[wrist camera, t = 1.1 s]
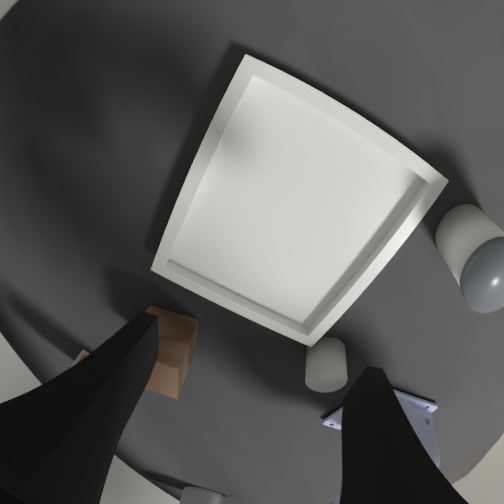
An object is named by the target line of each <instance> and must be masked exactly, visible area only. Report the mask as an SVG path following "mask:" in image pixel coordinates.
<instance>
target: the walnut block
mask: <svg viewBox="0 0 504 504" xmlns="http://www.w3.org/2000/svg"><path fill="white" fill-rule="evenodd" d="M146 312H147V313H150V314H153V315H156V316H159V355H158V358H157V360H156V363H155V366H154V369H153V371H152V374H151V376H150V379H149V381H148V383H147V385H146V387H145V389H148V390H150V391H153V392H156V393H159V394H162V395H165V396H168V397H172V398H175V399H178V396H179V393H180V391H181V388H182V385H183V383H184V380H185V377H186V375H187V372H188V369H189V367H190V364H191V361H192V359H193V356H194V353H195V347H196V339H197V331H198V323H199V319H196V318H192V317H189V316H185V315H182V314H179V313H175V312H172V311H169V310H165V309H162V308H159V307H156V306H152V305H149V307H148V309H147V310H146Z"/></svg>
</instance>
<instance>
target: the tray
mask: <svg viewBox="0 0 504 504" xmlns="http://www.w3.org/2000/svg"><path fill="white" fill-rule="evenodd" d="M448 182H449V181H448V180H447V179H446V178H445V177H444V176H442V175H441V174H440V173H439V172H437V171H436V170H435V169H434V168H433V167H431V166H430V165H429V164H428V163H426V162H425V161H424V160H422V159H421V158H420V157H419V156H417V155H416V154H415V153H413V152H412V151H411V150H409V149H408V148H407V147H405V146H404V145H403V144H401V143H400V142H398V141H397V140H396V139H394V138H393V137H391V136H390V135H389V134H387V133H386V132H384V131H383V130H381V129H380V128H378V127H377V126H376V125H374V124H373V123H371V122H369V121H368V120H366V119H365V118H363V117H362V116H360V115H359V114H357V113H356V112H354V111H352V110H351V109H349V108H348V107H346V106H344V105H343V104H341V103H339V102H338V101H336V100H334V99H333V98H331V97H329V96H327V95H326V94H324V93H322V92H320V91H319V90H317V89H315V88H313V87H311V86H310V85H308V84H306V83H304V82H302V81H300V80H298V79H296V78H295V77H293V76H291V75H289V74H287V73H285V72H283V71H281V70H279V69H277V68H275V67H273V66H270V65H268V64H266V63H264V62H262V61H260V60H258V59H255V58H253V57H251V56H249V55H246V54H245V56H244V58H243V60H242V62H241V64H240V65H239V67H238V69H237V71H236V73H235V75H234V77H233V79H232V81H231V83H230V85H229V87H228V89H227V91H226V93H225V95H224V97H223V99H222V101H221V103H220V105H219V107H218V109H217V111H216V113H215V115H214V117H213V119H212V121H211V124H210V126H209V128H208V130H207V132H206V134H205V137H204V139H203V141H202V143H201V145H200V148H199V150H198V152H197V154H196V157H195V159H194V161H193V163H192V166H191V168H190V170H189V173H188V175H187V177H186V180H185V182H184V184H183V187H182V189H181V192H180V194H179V197H178V199H177V201H176V204H175V206H174V209H173V211H172V214H171V216H170V219H169V222H168V224H167V227H166V229H165V232H164V235H163V237H162V240H161V243H160V245H159V248H158V251H157V254H156V256H155V259H154V262H153V265H152V267H151V270H152V271H154V272H156V273H157V274H159V275H161V276H163V277H165V278H167V279H169V280H171V281H173V282H175V283H177V284H179V285H180V286H182V287H184V288H186V289H188V290H190V291H192V292H194V293H196V294H198V295H200V296H202V297H204V298H206V299H208V300H210V301H212V302H214V303H216V304H218V305H220V306H223V307H225V308H227V309H229V310H231V311H233V312H235V313H237V314H239V315H241V316H243V317H245V318H248V319H250V320H252V321H254V322H256V323H258V324H260V325H263V326H265V327H267V328H269V329H271V330H273V331H276V332H278V333H280V334H282V335H285V336H287V337H289V338H291V339H293V340H296V341H298V342H300V343H303V344H305V345H307V346H309V347H312V346H313V345H314V344H315V343H316V342H317V341H318V340H319V339H320V338H321V337H322V336H323V335H324V334H325V333H326V332H327V331H328V330H329V329H330V327H331V326H332V325H333V324H334V323H335V322H336V321H337V320H338V319H339V318H340V317H341V316H342V315H343V313H344V312H345V311H346V310H347V309H348V308H349V307H350V306H351V305H352V304H353V302H354V301H355V300H356V299H357V298H358V297H359V296H360V294H361V293H362V292H363V291H364V290H365V289H366V288H367V286H368V285H369V284H370V283H371V282H372V281H373V279H374V278H375V277H376V276H377V275H378V274H379V272H380V271H381V270H382V269H383V268H384V266H385V265H386V264H387V263H388V261H389V260H390V259H391V258H392V257H393V255H394V254H395V253H396V252H397V250H398V249H399V248H400V247H401V245H402V244H403V243H404V242H405V240H406V239H407V238H408V236H409V235H410V234H411V233H412V231H413V230H414V229H415V227H416V226H417V225H418V223H419V222H420V221H421V219H422V218H423V217H424V215H425V214H426V213H427V211H428V210H429V209H430V207H431V206H432V204H433V203H434V202H435V200H436V199H437V197H438V196H439V195H440V193H441V192H442V190H443V189H444V187H445V186H446V185H447V183H448Z"/></svg>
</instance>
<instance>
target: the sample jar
mask: <svg viewBox="0 0 504 504" xmlns="http://www.w3.org/2000/svg"><path fill="white" fill-rule="evenodd" d="M435 242H436V247H437V249H438V251H439V253H440V254H441V256H442V258H443V259H444V261H445V262H446V264H447V266H448V267H449V269H450V270H451V272H452V274H453V275H454V277H455V279H456V281H457V282H458V284H459V286H460V289H461V293H462V294H463V296H464V298H465V300H466V302H467V304H468V305H469V307H470V308H471V309H472V310H474V311H476V312H479V313H489V312H493V311H496V310H498V309H500V308H502V307H504V232H503V231H502V230H501V229H500V228H499V227H498V226H497V225H496V224H495V223H494V222H493V221H492V220H491V219H490V218H489V217H488V216H487V215H486V214H485V213H483V212H482V211H481V210H480V209H479V208H478V207H476V206H474V205H471V204H462V205H458V206H456V207H454V208H452V209H451V210H450V211H448V212H447V213H446V214H445V215H444V216H443V218H442V219H441V221H440V223H439V225H438V227H437V230H436V235H435Z"/></svg>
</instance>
